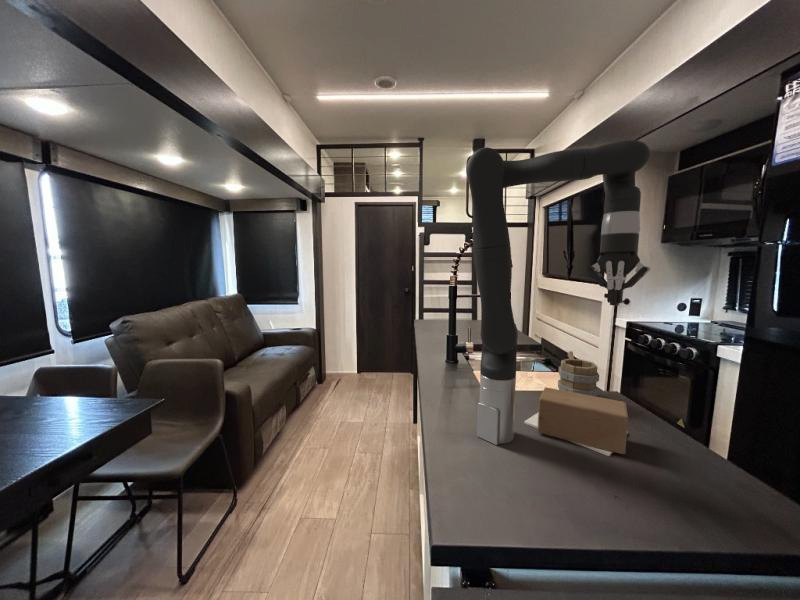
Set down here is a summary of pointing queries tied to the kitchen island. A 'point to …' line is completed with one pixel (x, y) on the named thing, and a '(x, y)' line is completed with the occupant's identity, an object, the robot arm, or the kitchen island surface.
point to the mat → (534, 423)
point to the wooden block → (583, 419)
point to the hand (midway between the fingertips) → (614, 305)
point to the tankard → (578, 376)
